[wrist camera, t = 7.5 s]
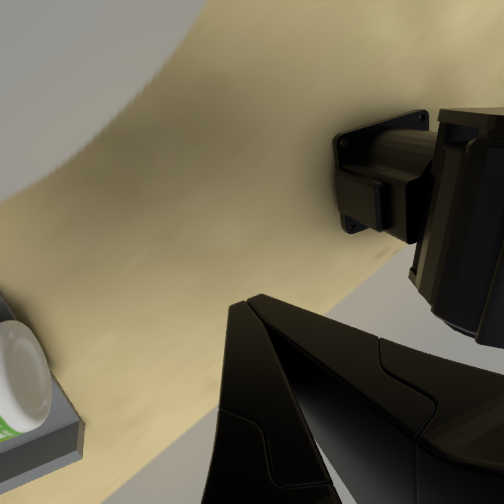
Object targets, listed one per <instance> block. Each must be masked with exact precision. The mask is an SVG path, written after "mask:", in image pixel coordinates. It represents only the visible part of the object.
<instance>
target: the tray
mask: <svg viewBox="0 0 504 504" xmlns="http://www.w3.org/2000/svg"><path fill="white" fill-rule="evenodd" d="M8 320H15V321H18V319H17V318H16V316H15V315H14V313H13V312H12V310H11V308H10V307H9V305H8V304H7V302H6V301H5V299H4V297H3V296H2V294H1V293H0V322H4V321H8ZM49 371H50V370H49ZM50 375H51V382H52V400H51V407H50V411H49V414H48V416H47V418H46V420H45V421H44V423H43V424H41V425H40V426H39V427H37V428H36V429H33V430H31V431H28V432H26V433H24V434H21V435H18V436H16V437H13V438H11V439H8V440H5V441H2V442H0V495H1V494H3V493H5V492H8V491H10V490H12V489H14V488H17V487H19V486H21V485H24V484H26V483H28V482H30V481H33V480H35V479H37V478H39V477H42V476H44V475H46V474H49V473H51V472H53V471H55V470H58V469H60V468H62V467H64V466H67V465H69V464H71V463H74V462H76V461H78V460H80V459H82V457H83V445H84V432H85V425H84V423H83V421H82V420H81V418H80V417H79V415H78V414H77V412H76V410H75V409H74V407H73V406H72V404H71V403H70V401H69V399H68V398H67V396H66V395H65V393H64V392H63V390H62V388H61V387H60V385H59V384H58V382H57V381H56V379H55V377H54V376H53V374H52V373H51V371H50Z"/></svg>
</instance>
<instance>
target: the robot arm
mask: <svg viewBox="0 0 504 504" xmlns="http://www.w3.org/2000/svg"><path fill="white" fill-rule="evenodd" d="M420 115H421V119H420V121H419V116H420ZM438 121H440V123H439V128H438V132H432V131H429V114H428V112H427V111H426V110H422V109H418V110H414V111H411V112H408V113H405V114H401V115H398V116H395V117H392V118H388V119H385V120H382V121H379V122H375V123H372V124H369V125H366V126H362V127H359V128H356V129H353V130H349V131H346V132H343V133H340V134H338V135H336V137H335V138H334V140H333V147H334V156H335V165H336V172H335V184H336V192H337V201H338V209H339V211H340V212H341V218H342V226H343V230H344V231H345V232H347V233H348V234H354V233H357V232H360V231H362V230H365V229H368V228H372V229H373V230H375V231H377V232H383V231H384V232H386V233H388V234H390V235H392V236H394V237H396V238H398V239H400V240H401V241H403V242H405V243H407V244H413V243H416V242H417V245H416V250H415V255H414V261H413V266H412V267H411V268H410V271H409V276H408V277H409V279H410V280H411V282H412V283H413V284H414V285H415V287H416V288H417V289H418V292H419V293H420V294H421V295H422V296H423V297H424V298H425V299H426V301H427V302H428V303H429V304H430V306H431V312H432V313H433V314H434V315H435V316H436V317H438V318H439V319H441V320H443V321H444V322H445V323H446V324H447V325H448V326H450V327H451V328H452V329H453V330H455V331H458V332H460V333H462V334H464V335H466V336H469V337H472V338H474V339H475V342H477V343H478V344H480V345H485V346H491V347H497V348H502V349H504V107H502V108H452V109H440V110H439V115H438ZM342 139H344V144H343V145H342V146H341V145H340V142H341V140H342ZM351 224H353V225H352V227H351V228H350V229H349V226H350V225H351ZM313 437H314V438H313ZM314 439H315V440H316V442H317V443H318V445H319V446H320V448H321V449H322V451H323V452H324V454H325V455H326V457H327V458H328V460H329V461H330V463H331V465H332V466H333V468H334V469H335V471H336V472H337V474H338V475H339V477H340V478H341V480H342V481H343V483H344V484H345V486H346V487H347V489H348V490H349V492H350V494H351V495H352V497H353V498H354V500H355V501H356V503H357V504H504V375H502V374H499V373H495V372H491V371H487V370H484V369H480V368H477V367H473V366H469V365H466V364H462V363H458V362H455V361H451V360H448V359H444V358H441V357H438V356H434V355H431V354H427V353H424V352H421V351H418V350H415V349H412V348H409V347H406V346H403V345H400V344H398V343H395V342H392V341H389V340H387V339H384V338H379V339H378V336H375V335H373V334H370V333H367V332H365V331H362V330H359V329H357V328H354V327H351V326H348V325H346V324H343V323H340V322H338V321H335V320H332V319H329V318H327V317H324V316H321V315H319V314H316V313H313V312H311V311H308V310H305V309H302V308H300V307H297V306H294V305H292V304H289V303H286V302H284V301H281V300H278V299H275V298H273V297H270V296H267V295H265V294H259V295H256V296H253V297H251V298H248V299H247V301H241V302H238V303H235V304H233V305H231V306H229V309H228V319H227V329H226V339H225V348H224V358H223V368H222V378H221V387H220V397H219V410H218V415H217V424H216V432H215V439H214V446H213V452H212V457H211V462H210V467H209V471H208V476H207V480H206V484H205V488H204V492H203V496H202V500H201V504H342V502H341V500H340V498H339V496H338V493H337V491H336V489H335V487H334V486H333V482H332V479H331V477H330V475H329V472H328V470H327V468H326V465H325V463H324V461H323V458H322V456H321V454H320V452H319V449H318V447H317V445H316V442H315V440H314Z"/></svg>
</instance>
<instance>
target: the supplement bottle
mask: <svg viewBox="0 0 504 504" xmlns="http://www.w3.org/2000/svg"><path fill="white" fill-rule="evenodd" d="M51 400H52V382H51V375H50V371H49V367H48V364H47V361H46V358H45V355H44V353H43V350H42V348H41V346H40V344H39V342H38V340H37V339H36V337H35V335H34V334H33V333H32V331H31V330H30V329H29V328H28V327H27V326H26V325H24V324H23V323H21V322H19V321H15V320H8V321H4V322H0V442H2V441H5V440H8V439H11V438H13V437H16V436H18V435H21V434H24V433H26V432H28V431H31V430H33V429H36V428H37V427H39V426H40V425H41V424H43V423H44V421H45V420H46V418H47V416H48V414H49V411H50V407H51Z"/></svg>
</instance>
